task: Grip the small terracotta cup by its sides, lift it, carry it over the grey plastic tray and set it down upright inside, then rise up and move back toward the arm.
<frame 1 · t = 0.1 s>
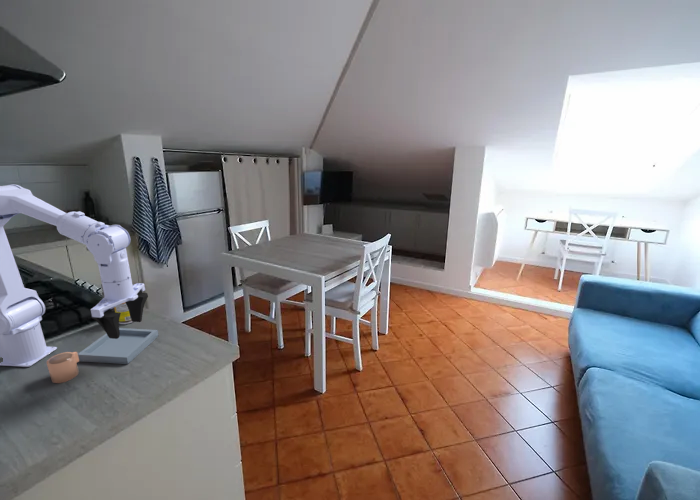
hand: (126, 329, 80), 10 cm above the counter, tool pointing down, fingers open, 7 cm apart
supplement bottle: (128, 321, 103), on the counter
terracotta cup: (65, 376, 78), on the counter
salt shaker: (112, 313, 107), on the counter
tray: (121, 347, 90), on the counter
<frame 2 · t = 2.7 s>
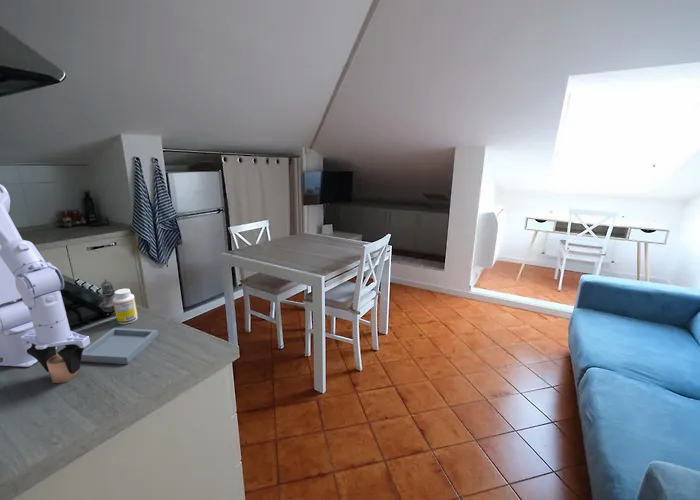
hand: (63, 370, 78), 2 cm above the counter, tool pointing down, fingers closed on terracotta cup, 5 cm apart
terracotta cup: (65, 375, 78), on the counter, touching gripper
everything else where it was.
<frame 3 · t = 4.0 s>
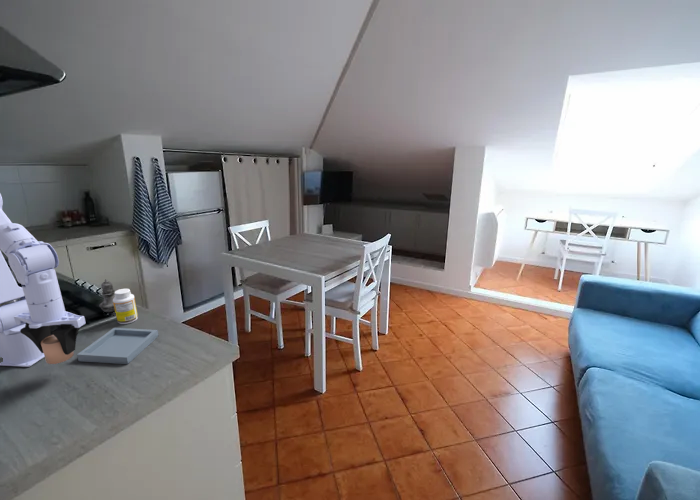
hand: (58, 351, 76), 7 cm above the counter, tool pointing down, fingers closed on terracotta cup, 5 cm apart
terracotta cup: (60, 357, 77), point 5 cm above the counter, touching gripper
everything else where it was.
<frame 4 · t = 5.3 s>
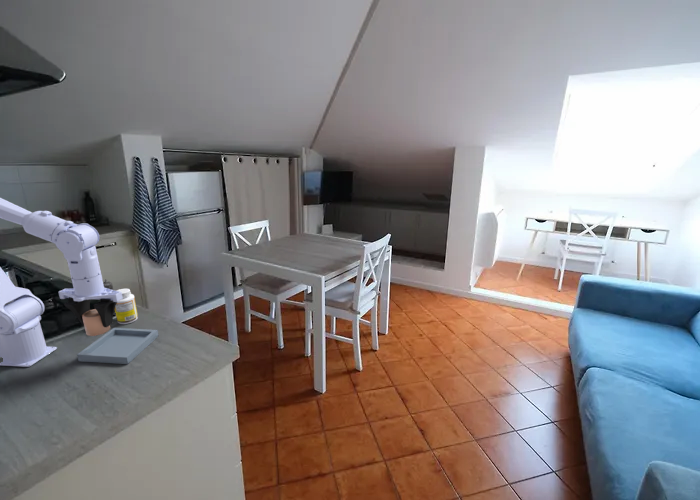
hand: (97, 324, 83), 9 cm above the counter, tool pointing down, fingers closed on terracotta cup, 5 cm apart
terracotta cup: (98, 330, 83), point 8 cm above the counter, touching gripper
everything else where it was.
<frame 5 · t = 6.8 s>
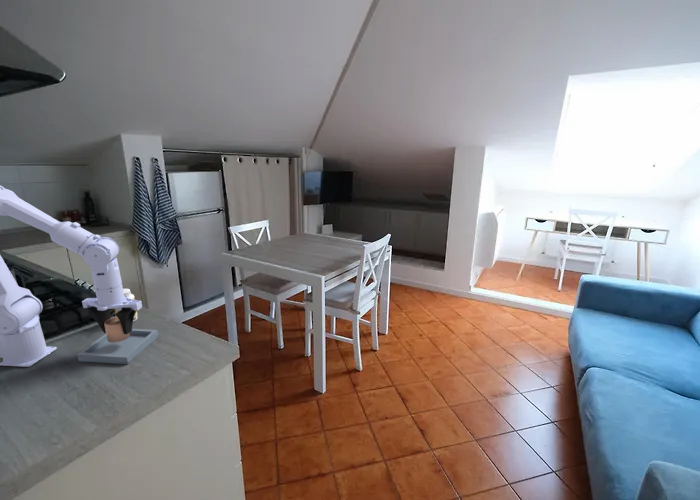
hand: (118, 331, 88), 5 cm above the counter, tool pointing down, fingers closed on terracotta cup, 5 cm apart
terracotta cup: (118, 337, 89), point 3 cm above the counter, touching gripper
everything else where it was.
when the fingers open (3 cm above the counter, at t = 8.2 s): terracotta cup stays where it is, resting on tray.
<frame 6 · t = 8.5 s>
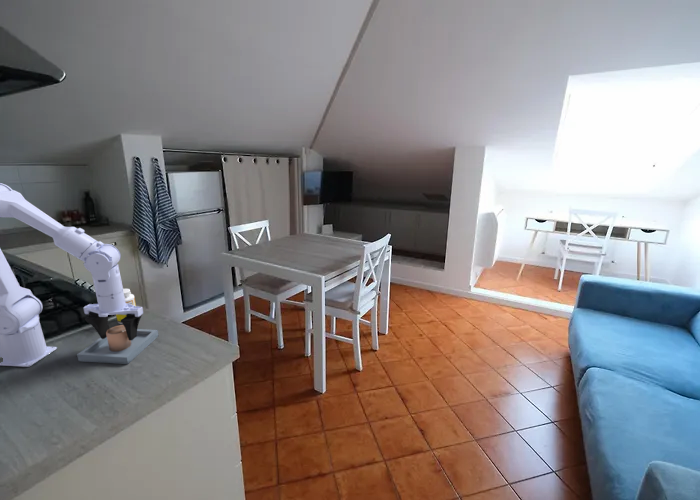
hand: (119, 337, 89), 3 cm above the counter, tool pointing down, fingers open, 7 cm apart
terracotta cup: (120, 346, 89), point 1 cm above the counter, touching tray
everything else where it was.
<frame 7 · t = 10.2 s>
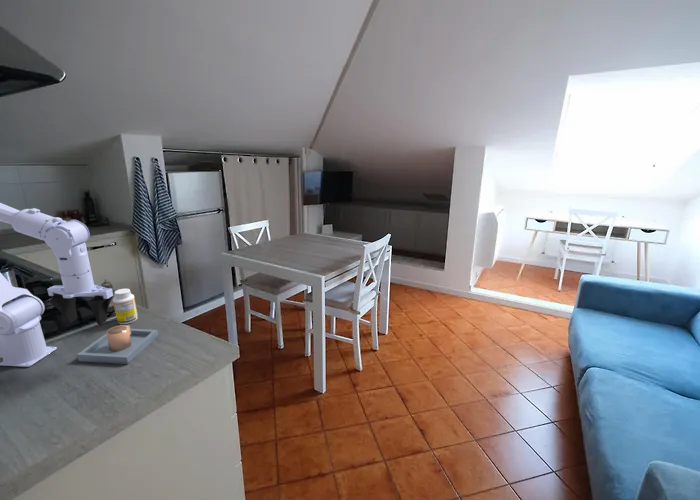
hand: (87, 321, 82), 10 cm above the counter, tool pointing down, fingers open, 7 cm apart
nothing on the counter moved.
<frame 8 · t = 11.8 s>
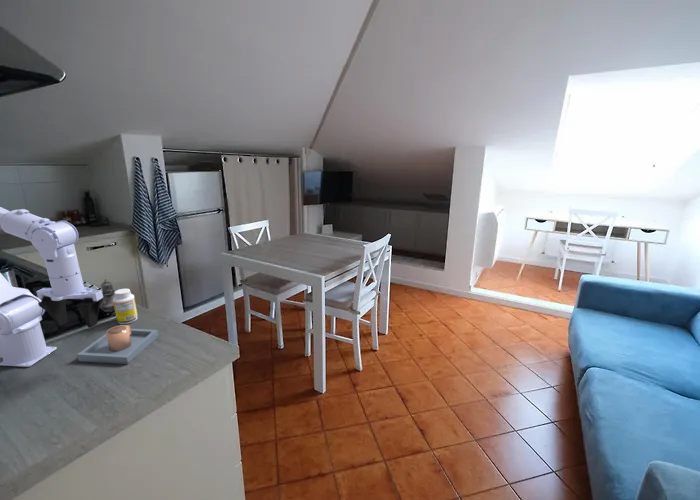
hand: (77, 324, 81), 10 cm above the counter, tool pointing down, fingers open, 7 cm apart
nothing on the counter moved.
at the end: terracotta cup inside the target area on the tray (0.1 cm from its centre), point 0.6 cm above the tray's base; terracotta cup tilted 1°; the gripper is holding nothing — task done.
